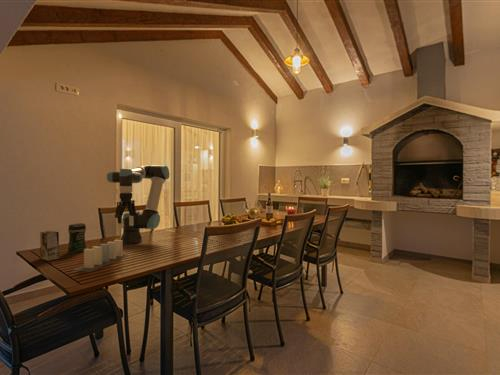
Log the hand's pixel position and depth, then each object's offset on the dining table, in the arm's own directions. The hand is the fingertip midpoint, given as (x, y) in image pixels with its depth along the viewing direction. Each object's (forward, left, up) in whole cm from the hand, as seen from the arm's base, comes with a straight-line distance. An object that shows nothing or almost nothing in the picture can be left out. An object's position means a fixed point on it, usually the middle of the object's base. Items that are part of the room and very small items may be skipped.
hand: (126, 226), depth 171 cm
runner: (+16, +11, -17) cm, 26 cm away
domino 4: (+10, +7, -17) cm, 21 cm away
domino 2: (+19, +14, -17) cm, 29 cm away
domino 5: (+6, +4, -17) cm, 18 cm away
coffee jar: (+24, -24, -18) cm, 38 cm away
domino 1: (+24, +17, -17) cm, 34 cm away
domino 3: (+15, +10, -17) cm, 25 cm away
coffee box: (+39, -17, -18) cm, 46 cm away
